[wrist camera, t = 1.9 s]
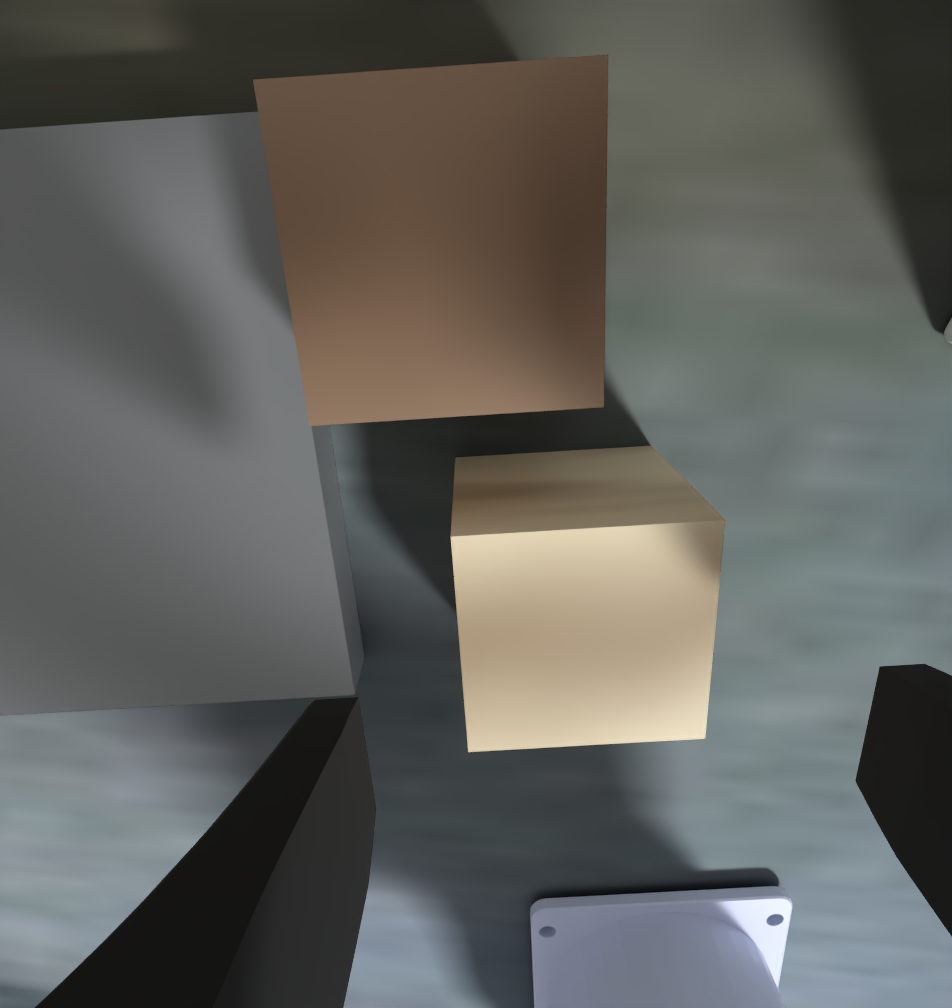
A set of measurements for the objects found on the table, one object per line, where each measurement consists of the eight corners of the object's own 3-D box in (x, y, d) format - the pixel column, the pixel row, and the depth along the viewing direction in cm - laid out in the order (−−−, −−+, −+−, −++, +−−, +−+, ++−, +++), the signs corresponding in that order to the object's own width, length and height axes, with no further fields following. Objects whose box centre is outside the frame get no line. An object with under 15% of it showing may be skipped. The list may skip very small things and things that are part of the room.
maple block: (642, 613, 16) (705, 738, 12) (467, 624, 16) (468, 752, 12) (649, 444, 14) (725, 519, 10) (455, 456, 14) (451, 536, 10)
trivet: (364, 657, 16) (354, 695, 15) (-91, 684, 16) (-142, 724, 15) (284, 128, 12) (260, 111, 10) (-334, 171, 12) (-440, 159, 11)
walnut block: (562, 362, 14) (603, 407, 9) (357, 375, 14) (309, 426, 10) (559, 126, 12) (607, 55, 8) (327, 142, 12) (253, 79, 8)
